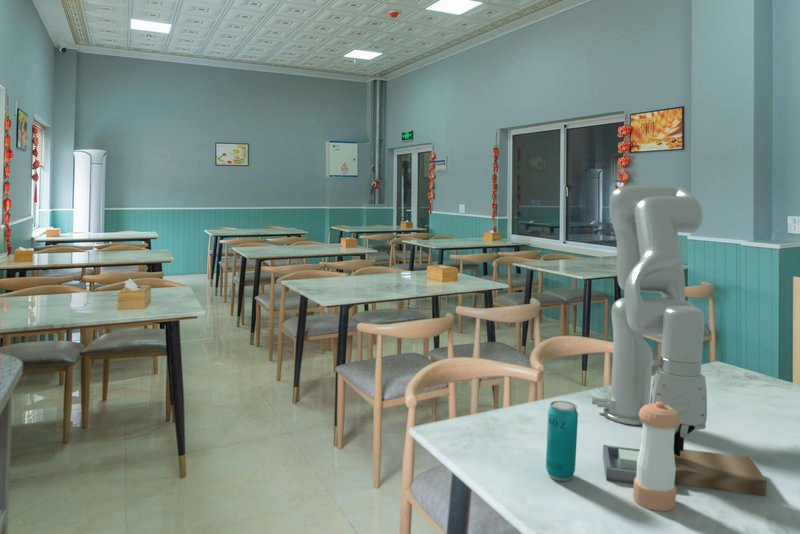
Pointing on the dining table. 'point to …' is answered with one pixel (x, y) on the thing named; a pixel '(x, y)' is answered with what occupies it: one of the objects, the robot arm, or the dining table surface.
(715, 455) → the board
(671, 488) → the salt shaker
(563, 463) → the beverage can
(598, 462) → the dining table surface
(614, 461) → the tray
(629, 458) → the tile
